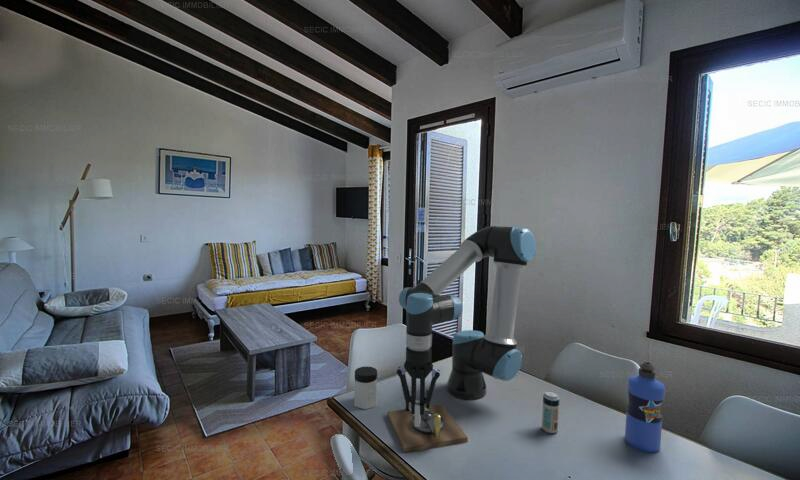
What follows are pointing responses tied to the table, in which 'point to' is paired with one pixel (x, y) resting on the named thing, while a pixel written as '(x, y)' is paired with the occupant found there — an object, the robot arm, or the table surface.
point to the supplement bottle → (550, 412)
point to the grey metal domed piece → (429, 423)
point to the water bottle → (644, 410)
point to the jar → (365, 387)
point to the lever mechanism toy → (421, 441)
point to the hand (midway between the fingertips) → (417, 424)
